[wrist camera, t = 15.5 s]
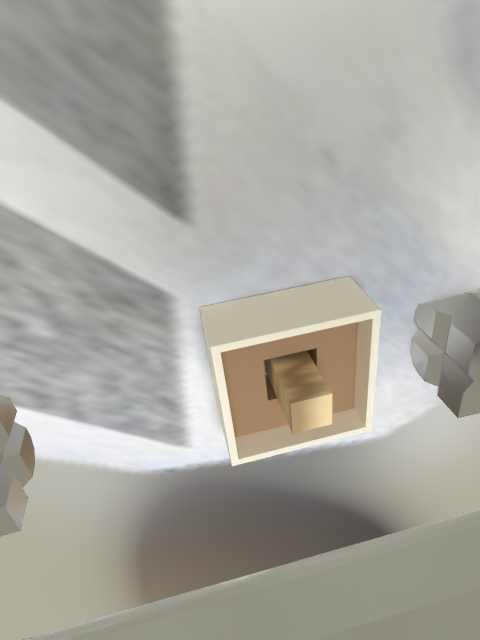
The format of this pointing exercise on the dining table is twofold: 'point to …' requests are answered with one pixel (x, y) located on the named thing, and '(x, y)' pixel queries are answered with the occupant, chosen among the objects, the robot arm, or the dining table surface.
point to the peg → (300, 391)
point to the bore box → (283, 339)
